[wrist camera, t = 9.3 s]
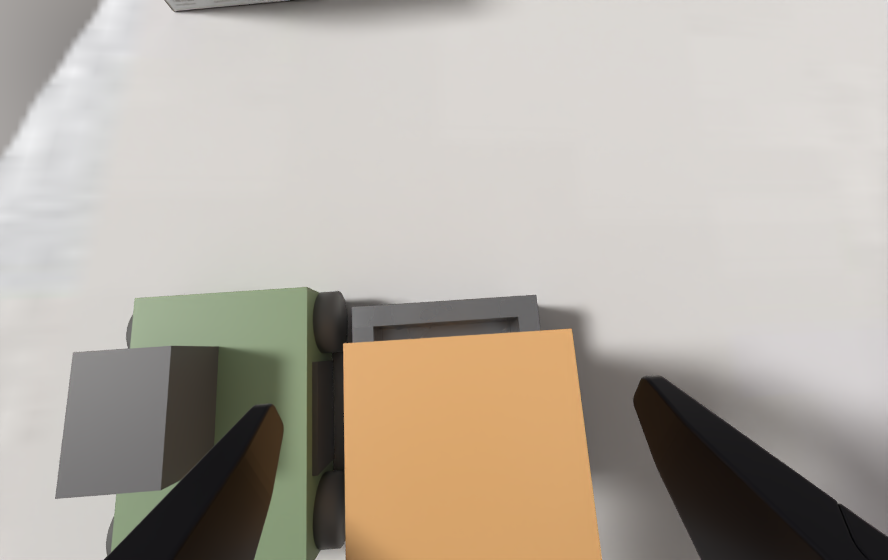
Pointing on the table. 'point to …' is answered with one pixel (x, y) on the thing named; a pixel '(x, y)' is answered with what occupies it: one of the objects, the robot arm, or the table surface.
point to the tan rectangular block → (467, 450)
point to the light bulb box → (210, 3)
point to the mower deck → (245, 384)
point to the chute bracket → (445, 318)
